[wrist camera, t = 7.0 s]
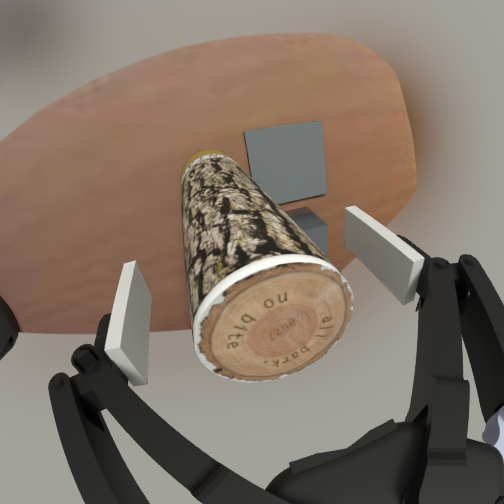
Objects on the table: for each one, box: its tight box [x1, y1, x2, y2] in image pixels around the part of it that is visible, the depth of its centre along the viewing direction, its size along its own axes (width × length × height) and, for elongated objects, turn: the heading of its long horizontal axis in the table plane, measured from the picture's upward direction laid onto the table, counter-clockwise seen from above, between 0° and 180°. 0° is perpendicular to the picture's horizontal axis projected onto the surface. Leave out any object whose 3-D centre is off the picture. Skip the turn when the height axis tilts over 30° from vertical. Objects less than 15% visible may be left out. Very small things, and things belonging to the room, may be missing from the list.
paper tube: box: [181, 150, 353, 382], centre depth 21 cm, size 7×7×25 cm
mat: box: [244, 121, 327, 204], centre depth 33 cm, size 10×10×1 cm
